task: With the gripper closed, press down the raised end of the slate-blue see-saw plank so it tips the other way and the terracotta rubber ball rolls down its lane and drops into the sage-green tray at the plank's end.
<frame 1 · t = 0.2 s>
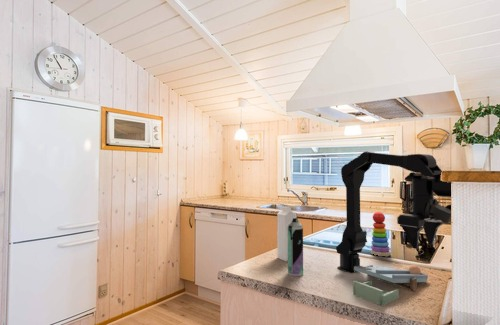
hand: (423, 246, 91), 14 cm above the worktop, tool pointing down, fingers open, 9 cm apart
milk: (287, 258, 127), on the worktop
seesaw: (390, 272, 100), point 3 cm above the worktop, hinge at -11.0°, touching ball
stand: (390, 282, 100), on the worktop
stacking toy: (380, 255, 133), on the worktop
ball: (414, 270, 101), point 3 cm above the worktop, tilted 22°, touching seesaw
spray can: (295, 274, 108), on the worktop
tray: (376, 296, 89), on the worktop
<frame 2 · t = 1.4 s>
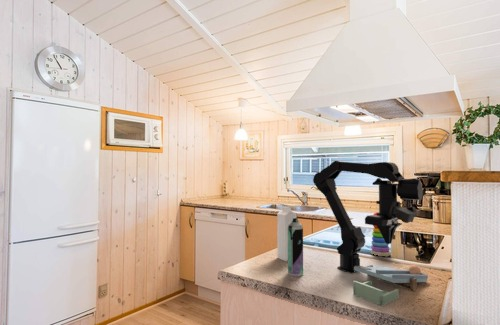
hand: (388, 243, 103), 12 cm above the worktop, tool pointing down, fingers closed
nothing on the worktop moved.
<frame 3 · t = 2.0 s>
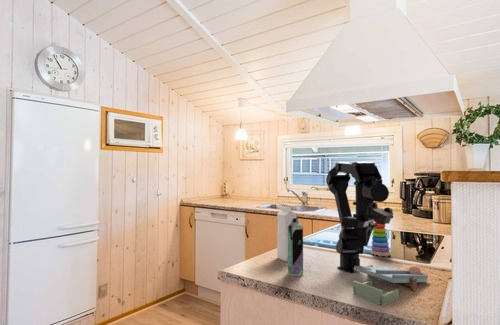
hand: (365, 246, 100), 12 cm above the worktop, tool pointing down, fingers closed
nothing on the worktop moved.
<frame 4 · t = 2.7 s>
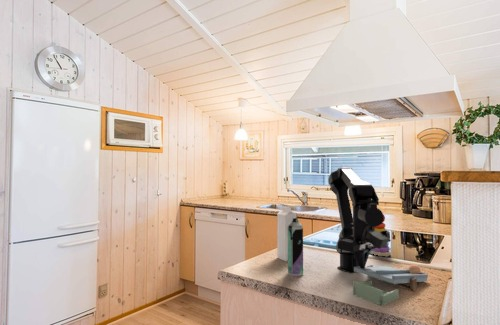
hand: (362, 268, 100), 5 cm above the worktop, tool pointing down, fingers closed, pressing on seesaw
seesaw: (390, 272, 100), point 3 cm above the worktop, hinge at -9.5°, touching gripper
ball: (414, 269, 101), point 4 cm above the worktop, tilted 20°
everything else where it was.
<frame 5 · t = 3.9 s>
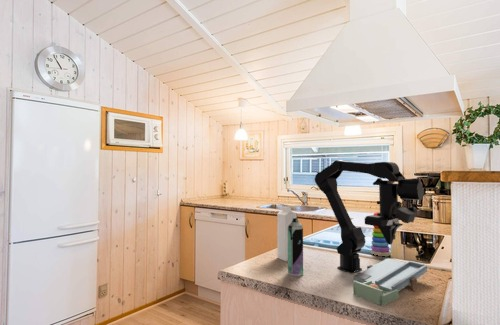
hand: (389, 244, 102), 12 cm above the worktop, tool pointing down, fingers closed
seesaw: (390, 272, 100), point 3 cm above the worktop, hinge at 8.2°
ball: (373, 290, 88), point 2 cm above the worktop, tilted 82°, touching tray
everything else where it was.
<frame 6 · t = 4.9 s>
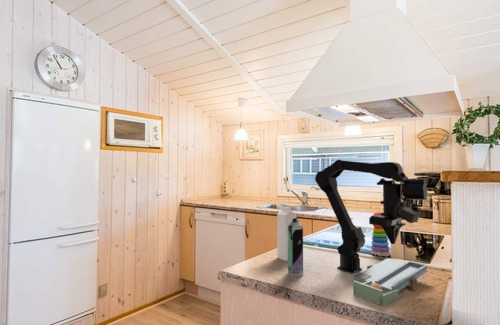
hand: (392, 243, 103), 12 cm above the worktop, tool pointing down, fingers closed
ball: (375, 289, 89), point 2 cm above the worktop, tilted 48°, touching tray
everything else where it was.
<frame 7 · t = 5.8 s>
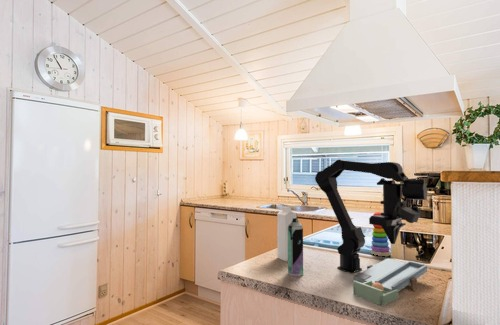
hand: (392, 243, 103), 12 cm above the worktop, tool pointing down, fingers closed
ball: (377, 288, 89), point 2 cm above the worktop, tilted 18°, touching tray
everything else where it was.
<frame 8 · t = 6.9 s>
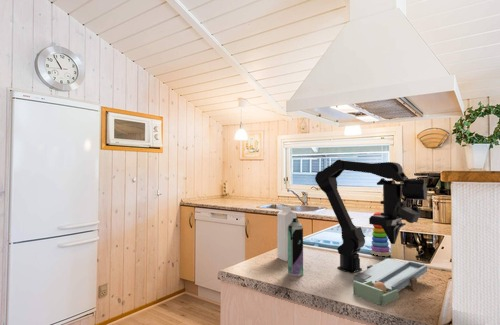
hand: (392, 243, 103), 12 cm above the worktop, tool pointing down, fingers closed
ball: (379, 287, 90), point 2 cm above the worktop, tilted 19°, touching tray
everything else where it was.
at the end: ball inside the target area on the tray (1.9 cm from its centre), point 2.0 cm above the tray's base; seesaw at +8° (first picture: -11°) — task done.
